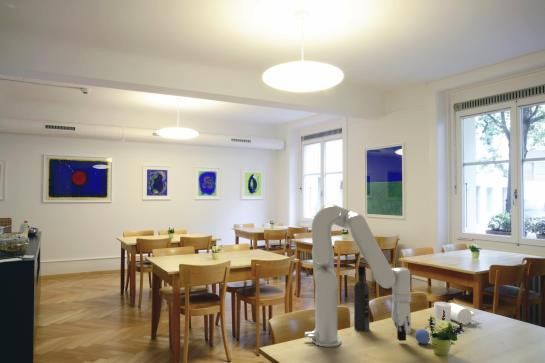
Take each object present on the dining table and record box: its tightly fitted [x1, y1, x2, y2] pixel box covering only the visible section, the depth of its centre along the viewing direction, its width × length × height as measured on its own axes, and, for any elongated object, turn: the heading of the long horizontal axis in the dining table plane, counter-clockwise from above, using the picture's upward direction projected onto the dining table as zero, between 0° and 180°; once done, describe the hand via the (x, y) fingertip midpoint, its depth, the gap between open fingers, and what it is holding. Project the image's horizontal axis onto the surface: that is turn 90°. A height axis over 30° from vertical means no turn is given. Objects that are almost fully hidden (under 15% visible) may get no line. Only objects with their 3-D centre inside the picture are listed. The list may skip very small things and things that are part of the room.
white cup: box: [433, 301, 452, 323], centre depth 187 cm, size 8×8×10 cm
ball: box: [414, 328, 431, 345], centre depth 163 cm, size 6×6×6 cm
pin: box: [406, 313, 412, 335], centre depth 176 cm, size 2×2×9 cm
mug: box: [449, 302, 476, 326], centre depth 192 cm, size 12×10×8 cm
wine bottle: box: [353, 264, 370, 333], centre depth 181 cm, size 6×6×30 cm
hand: (401, 339), depth 163 cm, fingers closed
